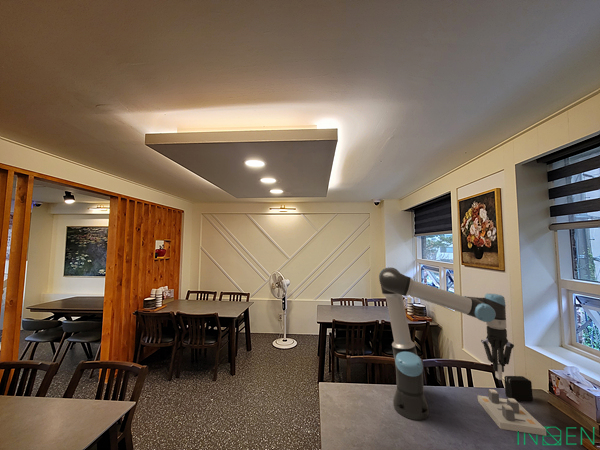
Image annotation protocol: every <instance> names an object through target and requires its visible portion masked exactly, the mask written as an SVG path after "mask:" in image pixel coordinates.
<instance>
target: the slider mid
mask: <svg viewBox="0 0 600 450" xmlns="http://www.w3.org/2000/svg"><path fill="white" fill-rule="evenodd" d="M506 399H507V405H509V406H510V407H511V408H512V409H513V410H514V413H519V404H520V403H519V402H518V403H519V404H518V403H517V401H516V400H515V399H513V398H508V397H507V398H506ZM519 414H520V413H519Z"/></svg>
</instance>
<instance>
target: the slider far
mask: <svg viewBox="0 0 600 450" xmlns="http://www.w3.org/2000/svg"><path fill="white" fill-rule="evenodd" d="M487 395H488V396H487V397H489V399H490V401H491V402H493V403H499V398H500V393H498V391H497V390H496V389H491V388H489V389H488V390H487Z"/></svg>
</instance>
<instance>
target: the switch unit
mask: <svg viewBox="0 0 600 450" xmlns="http://www.w3.org/2000/svg"><path fill="white" fill-rule="evenodd" d="M507 399H508V398H500V397H499V403H493V402H491V401H490V399H489V396H485V395H484V396H483V395H477V401H478V403H479V404H480V406H482V408H483V409H484V411H485V412H486V413H487V414H488V416H490V418H491V419H492V420H493V422H495V425H497V427H498V428H499V429H500V430H507V431H512V432H518V431H519V433H525V434H533V435H538V436H539V435H540V436H545V437H547V429H546V428H545V426H543V425H542V424H541V423H540V422H539V421H538V420H537V419H536V418H535V417H534V416H533V415H532V414H531V413H530V412H528V411H527V410H526V409H525V408H524V407H523V406H522V405H521V404H520V403H519V402H517V403H518V404H519V413H520V414H519V413H514V415H515V421H511V420H506V419H505V417H504V416H503V415H502V405H507Z"/></svg>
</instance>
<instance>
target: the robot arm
mask: <svg viewBox="0 0 600 450" xmlns="http://www.w3.org/2000/svg"><path fill="white" fill-rule="evenodd" d="M378 280H379V284H380V288H381V293H382V294H383V296H385V300H386V304H387V311H388V316H389V320H390V327H391V330H392V331H391V332H392V337H393V341H392V343H391V346H392V347H391V348H392V352H393V359H394V365H395V375H396V388H395V393H394V396H393V399H392V403H393V404H392V406H393V408H394V410H395V411H396V412H397V413H398V414H400V415H401V416H402V417H405V418H407V419H410V420H414V421H421V420H425V419H427V418H428V417H429V414H430V413H429V412H430V411H429V406H428V403H427V400H426V397H425V394H424V365H423V360H422V359H421V357H420V356H419V355H418V353H417V348H416V343H415V341H414V342H413V341H412V338H411V333H410V329H409V322H408V318H407V313H406V308H405V303H404V299H403V296H404V297H408V296H411V297H414V298H416V299H418V300H422V301H425V302H428V303H431V304H433V305H437V306H440V307H443V308H445V309H446V308H447V309H448V310H449V309H450V310H452V311H455V312H458V313H460V314H461V313H462V314H463V315H467V316H470V317H472V318H474V319H478V321H481V322H484V323H486V338H485V339H481V341H480V342H481V343H482V345H483V347H484V351H485V355H486V357H487V361H488V362H490V363H491V364H492V367H493V368H492V369H493V371H494V375H495V378H496V379H498V380H499V381H503V379H504V378H503V373H504V372H505V367H506V365H509V363H510V359H511V355H512V350H513V348H514V347H515V344H514V343H512V342H510V341H509V340H508V330H507V315H506V314H507V313H506V312H507V310H506V309H507V308H506V306H507V305H506V300H505V297H504V295H502V294H498V293H497V294H496V293H485V295H484V297H478V296H477V297H475V296H466V295H464V296H463V295H460V294H457V293H455V292H452V291H448V290H444V289H442V288H439V287H435V286H433V285H428V284H425V283H423V282H419V281H416V280H414V279H412V277H411V276H407V275H404V274H403V273H401V272H400V271H399V270H398V269H397V268H395V267H389V266H388V267H385V268H383V269H382V270H381V271H380V272H379V276H378ZM489 345H490V346H489ZM490 348H491V349H490Z"/></svg>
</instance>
